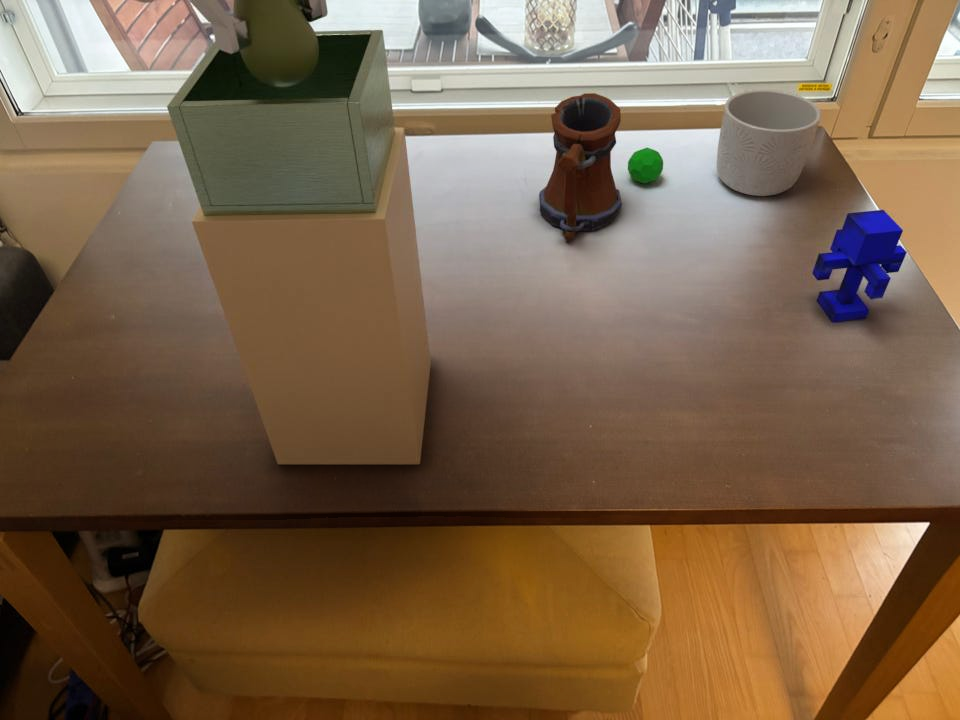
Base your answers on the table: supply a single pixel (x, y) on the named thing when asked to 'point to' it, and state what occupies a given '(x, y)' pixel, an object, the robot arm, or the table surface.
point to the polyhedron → (645, 165)
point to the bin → (313, 248)
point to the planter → (765, 140)
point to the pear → (277, 42)
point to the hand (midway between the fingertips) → (275, 32)
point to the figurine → (859, 263)
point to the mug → (582, 165)
